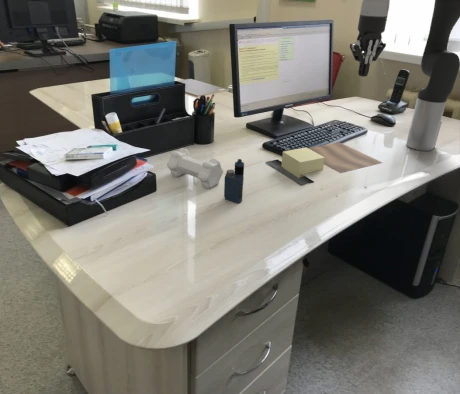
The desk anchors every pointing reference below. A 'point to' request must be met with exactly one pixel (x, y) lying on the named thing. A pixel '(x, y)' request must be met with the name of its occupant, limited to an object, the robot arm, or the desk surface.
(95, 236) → the desk surface
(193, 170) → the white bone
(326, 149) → the brown cloth
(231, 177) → the vaping device
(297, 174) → the memo block
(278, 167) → the mat
